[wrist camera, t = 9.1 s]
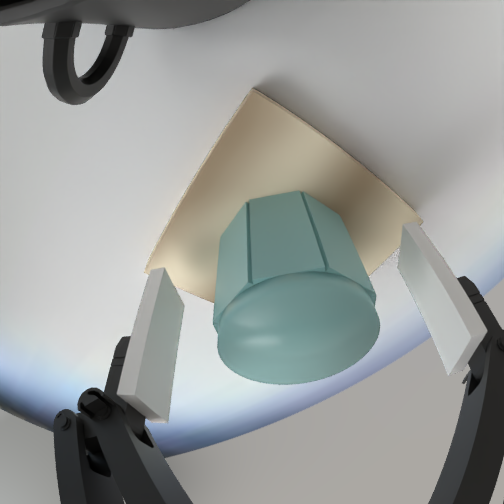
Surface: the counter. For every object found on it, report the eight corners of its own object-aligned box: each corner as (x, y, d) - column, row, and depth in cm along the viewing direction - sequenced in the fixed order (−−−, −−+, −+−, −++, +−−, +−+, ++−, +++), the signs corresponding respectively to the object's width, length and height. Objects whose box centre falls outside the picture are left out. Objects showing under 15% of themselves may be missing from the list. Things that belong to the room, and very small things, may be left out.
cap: (239, 297, 17) (239, 391, 13) (209, 207, 14) (193, 307, 9) (342, 278, 17) (371, 369, 12) (338, 183, 13) (388, 272, 8)
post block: (148, 258, 17) (124, 333, 13) (252, 87, 12) (258, 111, 7) (297, 322, 21) (307, 390, 17) (414, 210, 15) (461, 273, 11)
